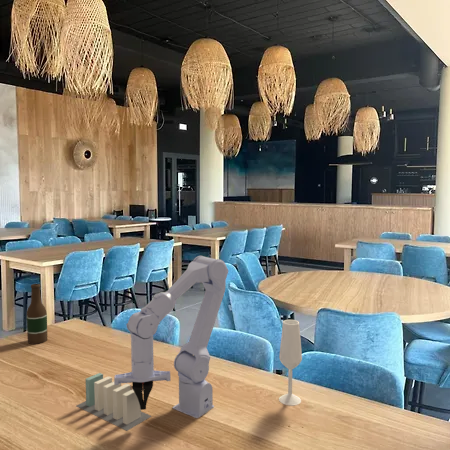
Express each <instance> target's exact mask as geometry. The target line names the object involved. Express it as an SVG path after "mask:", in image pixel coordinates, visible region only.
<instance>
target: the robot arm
mask: <svg viewBox="0 0 450 450" xmlns="http://www.w3.org/2000/svg"><path fill="white" fill-rule="evenodd" d="M228 275H229V269H228V267H227V264H226V263H225V261H224V260H223V259H220V258H219V259H218V258H213V257H207V256H203V255H198V256H196V257H195V258H194V259H193V260H192V261H191V262H189V263H188V265H187V269H186V270H185V271H184V272H183V273H182V274H181V275H180V277H179V278H177V280H176V281H175V282H174V283H173V284H172V285H171V286H170V287H169V288H168V290H166V291H164V292H163V291H161V292H159V293H155V294H154V295H153V298H152V300H150V301H149V302H148V303H147V304H146V305H145V306H143V307H141V308H140V311H137V312H134V313H133V314H131V315H130V317H129V319H128V322H127V323H126V329H127V330H128V331H129V332H130V345H131V347H130V350H131V351H130V352H131V356H130V358H131V361H130V363H131V371H129V372H124V373H119V374H115V375H114V378H113V382H114V385H118V384H119V383H121V384H131V385H132V386H131V389H133V391H134V392H135V394H136V396H137V398H138V401H139V404H140V410H141V411H143V410H144V411H145V410H147V403H148V401H149V396H150V395H151V392H152V390H153V387H154V382H160V381H166V382H171V371H170V370H169V371H168V370H167V371H166V370H154V369H155V368H154V367H155V365H154V335H155V334H156V333H157V331H158V327H159V325H160V323H161V322H162V321H163V320H164V318H166V317H167V315H169V314H170V312H172V311H173V310H174V308H175V307H176V306H175V305H176V303H175V302H176V301H177V300H178V299H179V298H180V297H181V296H182V295H184V294H185V293H186V292H187V291H188V290H189V289H190V288H191V287H193V286H194V285H195V284H199V283H202V285H203V287H204V289H205V292H204V295H203V299H202V301H201V303H200V307H199V310H198V313H197V316H196V318H195V321H194V325H193V328H192V331H191V334H190V336H189V339H188V341H187V343H186V342H185V343H184V344H183V345H182V346H181V348H180V350H179V352H178V353H177V355H176V356H175V358H174V360H173V367H174V369H175V371H176V372H177V376H178V403H177V404H176V405H174V406H172V410H176V411H178V412H180V413H182V414H185V415H188V416H191V417H193V418H195V419H199V418H201V417H202V416H203V415H205V414H206V413H207V412H209V411H211V410H212V409H214V408H215V405H214V404H213V400H214V399H213V397H214V396H213V393H214V391H213V385H212V384H211V383H210V382H209V381H207V380H206V378H207V376H208V375H209V371H210V365H209V364H210V362H211V361H210V360H211V356H210V353H209V350H208V349H207V348H208V344H209V342H210V339H211V335H212V333H213V329H214V327H215V324H216V319H217V317H218V314H219V310H220V307H221V304H222V302H223V299H224V295H225V292H226V287H227V286H226V284H227V283H226V280H227V277H228ZM142 382H144V384H143V385H142Z"/></svg>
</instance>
